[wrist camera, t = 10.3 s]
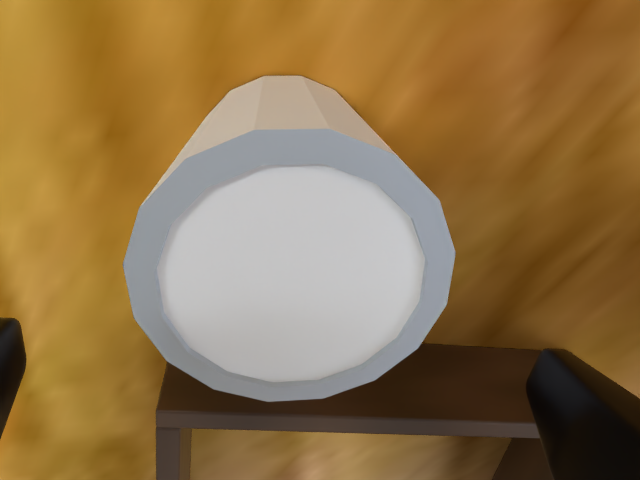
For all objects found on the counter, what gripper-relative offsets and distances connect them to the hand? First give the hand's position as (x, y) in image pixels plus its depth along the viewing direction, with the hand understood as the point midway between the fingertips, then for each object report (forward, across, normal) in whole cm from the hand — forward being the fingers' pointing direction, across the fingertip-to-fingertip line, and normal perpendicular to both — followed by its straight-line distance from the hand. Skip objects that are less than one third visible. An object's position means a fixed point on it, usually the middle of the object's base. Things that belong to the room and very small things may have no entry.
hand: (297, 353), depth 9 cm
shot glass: (+9, 0, 0) cm, 9 cm away
